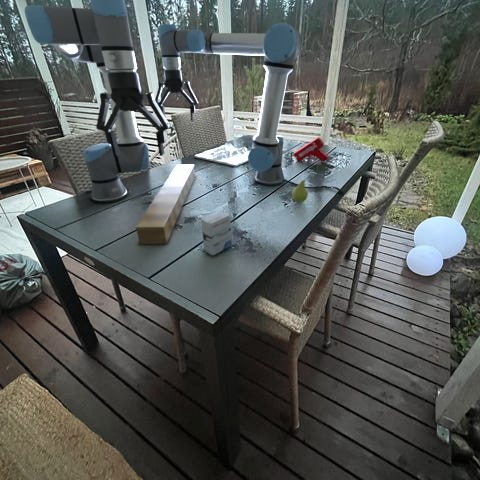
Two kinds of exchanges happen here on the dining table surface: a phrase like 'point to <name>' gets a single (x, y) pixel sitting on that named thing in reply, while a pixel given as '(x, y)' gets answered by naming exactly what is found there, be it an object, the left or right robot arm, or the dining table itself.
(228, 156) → the relief map
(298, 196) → the fruit
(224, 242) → the ink box
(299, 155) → the toy gun
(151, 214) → the slab
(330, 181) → the dining table surface
